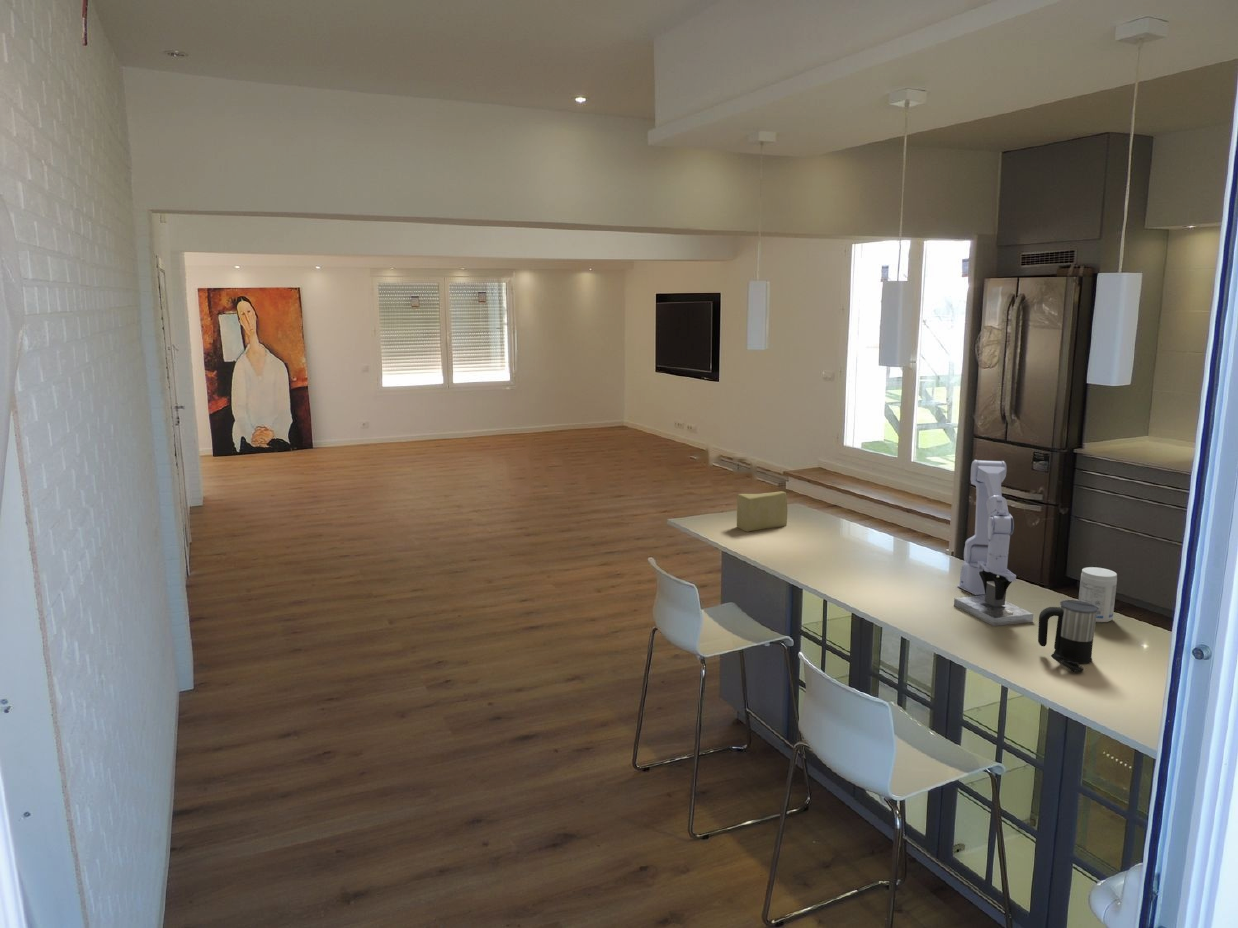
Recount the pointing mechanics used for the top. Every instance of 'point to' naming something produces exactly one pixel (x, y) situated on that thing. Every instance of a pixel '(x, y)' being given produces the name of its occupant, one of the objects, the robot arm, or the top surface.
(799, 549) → the top surface
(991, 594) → the plug
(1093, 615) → the milk frother
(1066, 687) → the top surface
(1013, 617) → the socket plate
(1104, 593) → the supplement tub
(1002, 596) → the robot arm
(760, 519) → the cheese
